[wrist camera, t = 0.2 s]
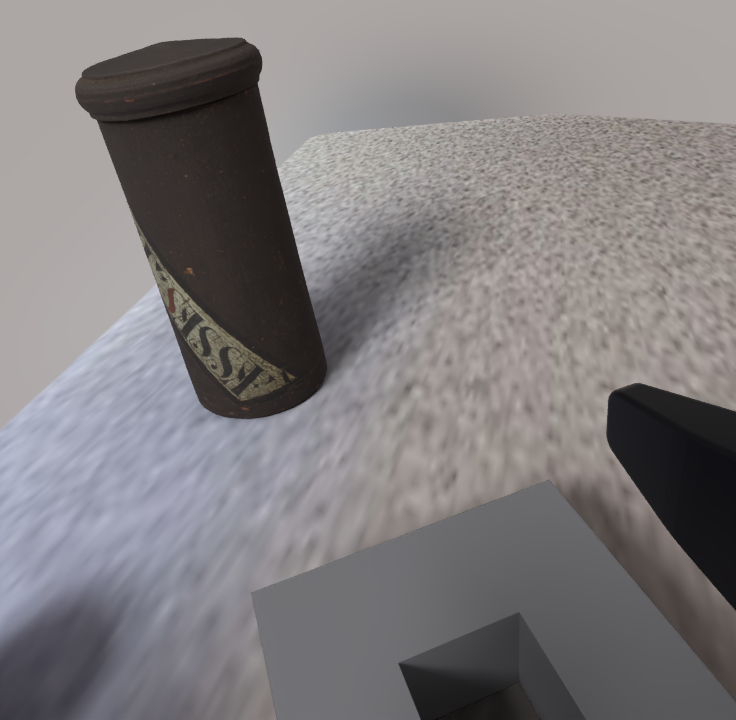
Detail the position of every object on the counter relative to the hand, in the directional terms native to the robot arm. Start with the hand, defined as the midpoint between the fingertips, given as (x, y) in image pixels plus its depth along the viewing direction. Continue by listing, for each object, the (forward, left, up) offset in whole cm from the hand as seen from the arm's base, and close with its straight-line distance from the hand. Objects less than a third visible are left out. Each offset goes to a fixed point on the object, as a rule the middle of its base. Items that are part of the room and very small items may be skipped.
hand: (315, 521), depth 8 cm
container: (+28, 0, -17) cm, 32 cm away
